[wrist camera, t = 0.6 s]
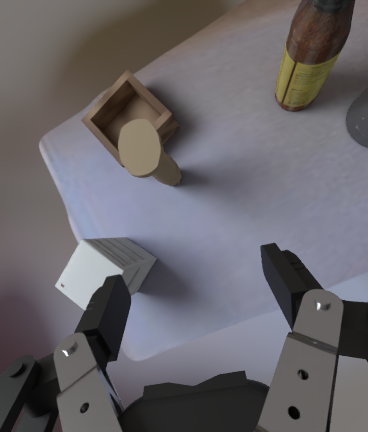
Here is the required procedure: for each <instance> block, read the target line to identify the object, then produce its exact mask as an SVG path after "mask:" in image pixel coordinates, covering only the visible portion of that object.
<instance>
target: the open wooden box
mask: <svg viewBox="0 0 368 432" xmlns="http://www.w3.org/2000/svg"><path fill="white" fill-rule="evenodd" d="M136 119H146V120H148V121H149V122H150V123H151V125H152V126H153V127H154V128H155V129H156V131H157V132H158V134H159V135H160V137H161V140H162V143H163V145H164V144H165V143H166V142H167V141H168V140H169V139H170V138H171V137H172V136H173V135H174V134H175V133H176V131H177V130H178V129H179V126H178V124H177V122H176V120H175V118H174V116H173V115H172V113H171V112H170V111H169V110H168V109H167V108H166V107H165V106H164V105H163V104H162V103H161V102H160V101H159V100H158V99H157V98H156V97H155V96H153V95H152V94H151V93H150V92H149V91H148V90H147V89H146V88H145V87H144V86H143V85H142V84H141V83H140V82H139V81H138V80H137V79H136V78H135V77H134V76H133V75H132V74H131V73H130V72H129V71H128V70H127V71H126V72H125V73H124V74H123V75H122V76H121V77H120V78H119V79H118V80H117V82H116V83H115V84H114V85H113V86H112V87H111V88H110V89H109V90H108V91H107V92H106V94H105V95H104V96H103V97H102V98H101V99H100V100H99V101H98V102H97V103H96V105H95V106H94V107H93V108H92V109H91V110H90V111H89V112H88V113H87V114H86V116H85V117H84V118H83V119H82V120H81V121H82V122H83V123H84V124H85V125H86V126H87V128H88V129H89V130H90V131H91V132H92V133H93V134H94V135H95V137H96V138H97V139H98V140H99V141H100V142H101V143H102V144H103V146H104V147H105V148H106V149H107V150H108V151H109V152H110V154H111V155H112V156H113V157H114V158H115V159H116V160H117V161H118V163H119V164H120V165H121V166H122V167H124V165H123V164H122V162H121V159H120V154H119V150H118V141H119V136H120V131H121V129H122V127H123V126H124V125H125V124H127V123H128V122H130V121H132V120H136ZM124 168H125V167H124Z"/></svg>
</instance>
